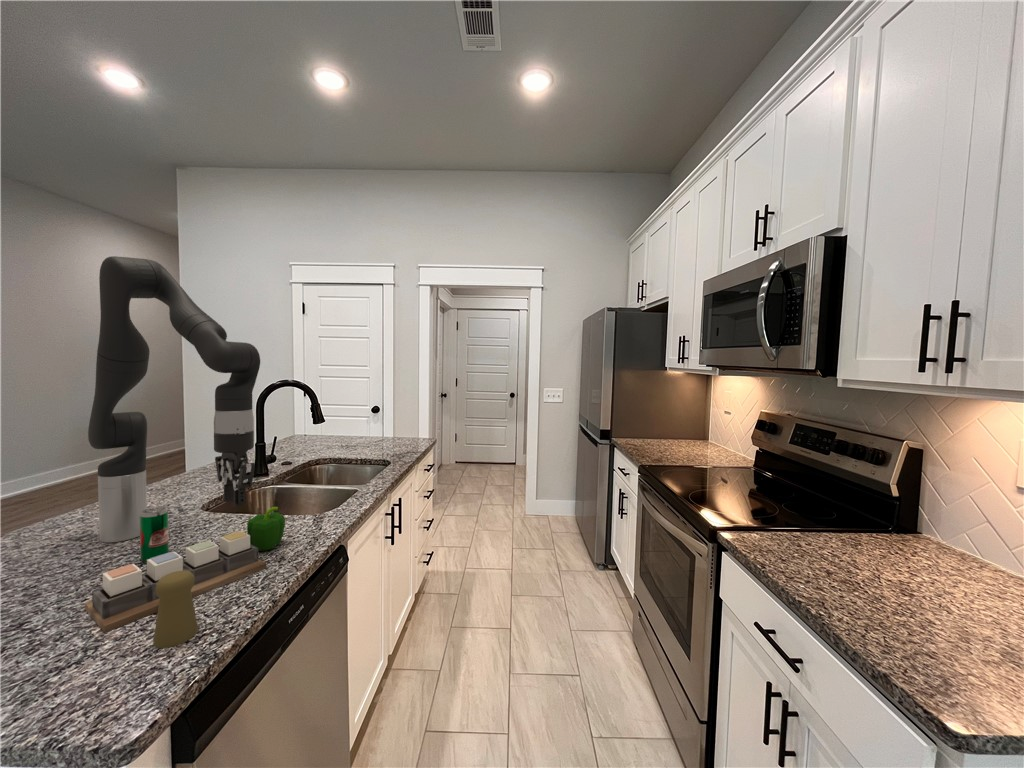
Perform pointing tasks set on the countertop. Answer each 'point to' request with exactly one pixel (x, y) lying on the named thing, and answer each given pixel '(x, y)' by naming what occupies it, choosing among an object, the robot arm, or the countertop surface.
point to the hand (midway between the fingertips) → (234, 502)
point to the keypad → (146, 601)
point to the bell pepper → (266, 529)
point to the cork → (175, 610)
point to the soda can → (153, 533)
